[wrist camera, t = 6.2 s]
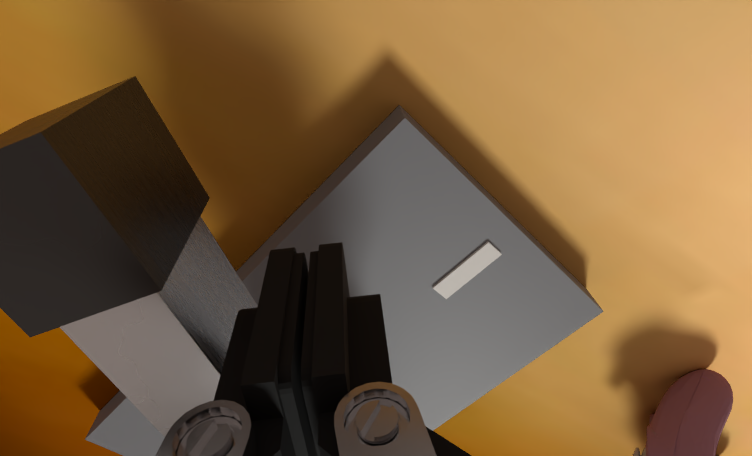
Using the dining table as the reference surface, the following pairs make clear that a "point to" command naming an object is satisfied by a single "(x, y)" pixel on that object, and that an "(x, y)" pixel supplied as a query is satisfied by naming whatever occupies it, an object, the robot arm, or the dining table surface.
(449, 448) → the robot arm
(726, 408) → the video game controller
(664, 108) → the dining table surface
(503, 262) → the base plate
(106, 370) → the lever
